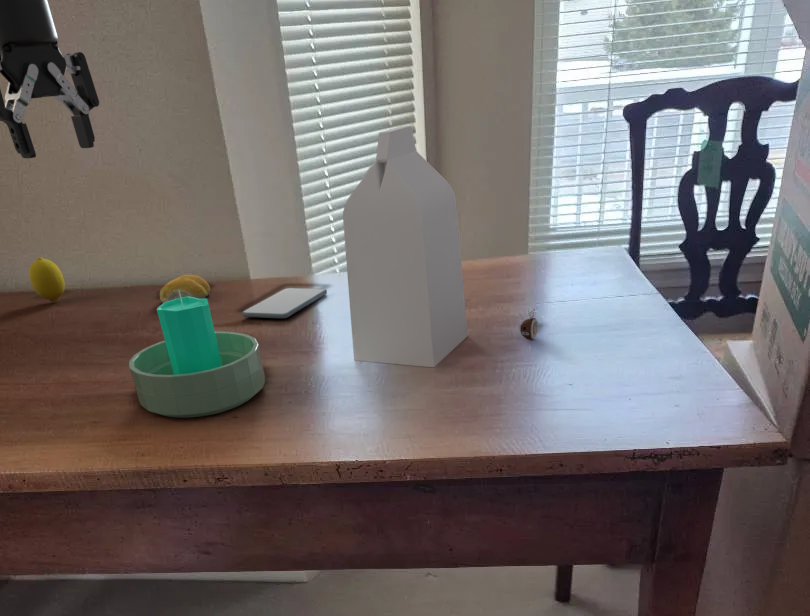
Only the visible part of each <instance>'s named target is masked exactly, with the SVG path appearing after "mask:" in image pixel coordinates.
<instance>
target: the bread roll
mask: <svg viewBox="0 0 810 616" xmlns="http://www.w3.org/2000/svg"><path fill="white" fill-rule="evenodd" d="M178 290H180V294H181V298H182V297H187V296H190V297H194V298H199V299H205V298H207V297H208V296H209V295H210V292H211V286H210V285H209V283H208V281H206V280H205V279H204V278H203V277H201V276H199V275H196V274H182V275H180V276H178V277H176V278H174V279H172V280H170V281H169V282H167V283H166V284H165V285H163V286H162V288H161V289H160V290H159V299H160V301H161V303H162V304H163V303H165V302H168V301H171V300H174V299H178V298H180V295H179V291H178Z"/></svg>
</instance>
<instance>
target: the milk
mask: <svg viewBox="0 0 810 616" xmlns="http://www.w3.org/2000/svg"><path fill="white" fill-rule="evenodd" d="M414 139H415V138H414V135H413V128H412V125H403V126H402V125H401V126H398V127H394V128H390V129H387V130H383V131H380V132H379V133H378V138H377V148H376V155H375V156H376V157H375V162H373V163H372V164H371V165H369V167H368V168H367V170H366V171H365V173H364V175H363V178H362V179H361V180H360V182H359V183H358V184H357V185H356V187H355V188H354V190H353V191H352V192H351V194H350V195H349V196H348V198H347V200H346V202H345V204H344V207H343V211H342V221H343V222H342V223H343V234H344V235H343V236H344V247H345V248H344V249H345V261H346V272H347V273H346V274H347V275H346V276H347V287H348V299H349V312H350V313H349V315H350V324H351V325H350V326H351V327H350V328H351V339H352V351H353V352H352V353H353V361H356V362H357V361H358V362H368V363H378V364H379V363H380V364H388V365H389V364H390V365H402V366H413V367H422V368H423V367H424V368H435V367H436V366H438V364H440V363H441V362H442V361H443V360H444V359H445V358H446V357H447V356H448V355H449V354H451V353H452V351H454V349H456V348H457V347H458V346H459V345H460V344H461V343H463V341H464V340H466V338H467V337H468V336H469V335H468V323H467V312H466V311H467V310H466V300H465V288H464V287H465V286H464V277H463V275H464V274H463V267H462V266H463V263H462V253H461V252H462V251H461V241H460V240H461V239H460V229H459V218H458V207H457V206H458V205H457V197H456V194H455V191H454V189H453V187H452V186H451V184H450V182H448V181H447V179H445V177H443V175H442V174H440V173H439V171H438V170H436V169H435V168H434V167H433V165H431V164H430V163H429V162H428V161H427V160H426V159H425V158H424V157H423V156H422V155H421V154H420V153H419V152H418V151H417V149H416V143H415V140H414Z"/></svg>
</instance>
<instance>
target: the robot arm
mask: <svg viewBox="0 0 810 616" xmlns="http://www.w3.org/2000/svg"><path fill="white" fill-rule="evenodd" d="M53 19H54V18H53V16H52V12H51V8H50V5H49V1H48V0H0V75H1V76H3V78H4V79H5V80H6V81H7V86H6V89H5V94H4V97H3V94H2V93H3V92H2V90H1V89H0V122H3V124H5V125H6V126H7V128H8V131H9V135H10V138H11V140H12V143H13V147H14V149H15V151H16V152H17V154H19V155H20V157H22V159H33V158H36V157H37V154H36V150H35V146H34V144H33V141H32V137H31V135H30V132H29V131H30V130H29V128H28V125H27V122H25V123H23V120H24V116H25V113H26V110H27V106H29V105H30V102H31V99H40V98H47V97H48V98H49V97H54V98H55V99H56V100H57V101H58V102H60V103H62V104H63V105H64V107H65V108H66V109H68V111H69V112H70V113H71V114H72V115H70V118H71V120H72V124H73V128H74V133H75V135H76V138H77V142H78V145H79V147H80V148H81V149H90V148H94V145H95V143H94V142H95V139H96V137H95V133H94V129H93V126H92V123H91V119H90V111H91V110H93V109H94V108H97V107H99V106H100V100H99V96H98V93H97V90H96V87H95V83H94V81H93V77H92V74H91V71H90V68H89V65H88V61H87V58H86V56H85V54H84V52H81V51H77V52H70V53H69V52H68V53H66V54H65V55H63V54H62V52H61V50H60V48H59V45H58V39H59V37H58V33H57V29H56V26H55V22H54V20H53ZM66 72H67V73H68V74H70V77H71V79H72V83H73V84H71V82H70V81H69V80H68V79H67V77H66V76H65V73H66Z"/></svg>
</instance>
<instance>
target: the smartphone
mask: <svg viewBox="0 0 810 616" xmlns="http://www.w3.org/2000/svg"><path fill="white" fill-rule="evenodd" d="M327 293H328V291H327V289H326V288H312V287H311V288H310V287H308V288H306V287H286V288H283V289H281V290H280V291H277V292H276V293H273V294H272V295H271V296H268V297H267V298H264V299H263V300H261V301H259V302H258V303H255V304H254V305H252V306H250V307H248V308H246V309H245V310H243V311H242V312H241V313H242V314H241V316H242V317H244V318H260V319H261V318H262V319H263V318H264V319H265V318H266V319H287V318H289V317H291V316H293V314H296V313H297V312H300V311H301V310H302V309H304V308H305V307H307V306H309V305H310V304H312V303H314V302H315V301H317V300H318V299H321V298H322V297H324V296H325V295H327Z"/></svg>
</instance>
